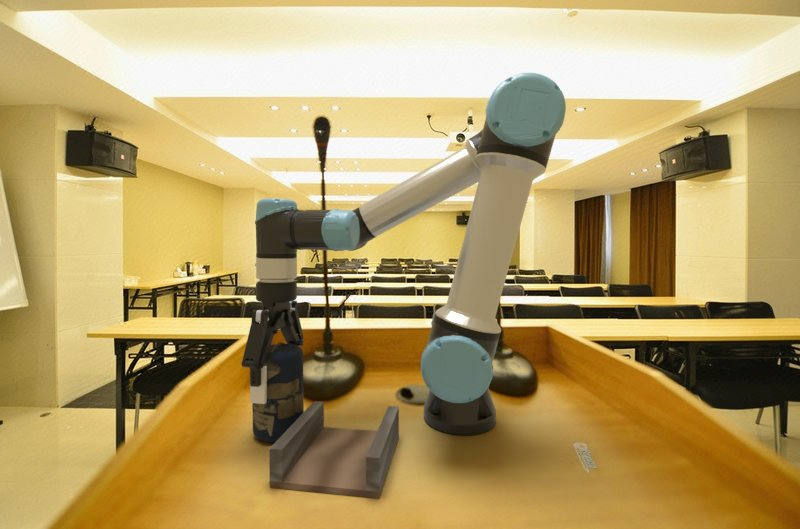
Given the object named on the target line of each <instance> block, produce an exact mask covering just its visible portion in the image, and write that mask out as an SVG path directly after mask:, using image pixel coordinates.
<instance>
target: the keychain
mask: <svg viewBox="0 0 800 529" xmlns="http://www.w3.org/2000/svg"><path fill="white" fill-rule="evenodd" d="M581 446H583V447H581ZM573 448H574V450H575V452H576V455H577V456H578V458H579V461H580V463H581V464H582V466H583V469H584V470H585V472H587V473H588V474H590V469H591V470H592V469H595V470H596V469H598V468H597V465H595V461H594V460H593V458H592V456H591V453H592V452H591V449H590V450H589V449H588V444H586V443H583V442H575V443H573Z"/></svg>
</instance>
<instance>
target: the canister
mask: <svg viewBox="0 0 800 529" xmlns="http://www.w3.org/2000/svg"><path fill="white" fill-rule="evenodd" d="M301 347H302V346H301ZM301 347H300V346H297V345H293V344H287V343H286V342H281V341H280V342H277V343H275V344H271V345H270V348H269V351H268V354H267V357H266V360H265V363H264V366H267V402H266V403H265V404H259V403H251V407H252V408H251V409H252V432H253V433H252V434H253V435H254V437H255V438H256V439H258V440H260V441H262V442H269V443H273V442H274V443H275V442H276V441H277V440H278V439H279V438H280V437H281V436H282V435H283V434H284V433H285V432H286V431H287V429H288V428H289V427H290V426H291V425H292V424H293V423H294V422H295V421H296V420H297V419H298V418H299V417H300V416H301V415H302V414H303V413H304V408H305V407H304V406H305V405H304V395H305V394H304V351H303V348H301Z"/></svg>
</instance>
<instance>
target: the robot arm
mask: <svg viewBox="0 0 800 529" xmlns="http://www.w3.org/2000/svg"><path fill="white" fill-rule="evenodd" d="M566 111H567V105H566V99H565V95H564V93H563V91H562V90H561V89H560V86H559V85H558V84H557V83H556V82H555V81H553V79H551V78H550V77H548V76H545V75H544V74H541V73H536V72H522V73H521V72H520V73H518V74H517V73H516V74H514V75H511V76H510V77H507V78H506V79H505V80H503V81H501V82H500V83H499V85H497V86H496V88H495V89H494V90H493V91H492V93H491V94H490V97H489V99H488V101H487V104H486V107H485V120H484V124H483V128H482V129H481V130H480V131H479V132H478V133H476V134H475V135H473V136H471V137H470V138H468V139H467V140H466V142H465V145H464V147H462V148H461V149H459V150H456V151H455V152H453V153H452V154H450V155H448V156H446V157H445V158H443V159H441V160H439V161H438V162H436V163H433V164H432V165H430V166H429V167H426V168H425V169H424V170H422V171H420V172H418V173H417V174H414V175H413V176H411V177H409V178H407V179H406V180H403V181H402V182H401V183H398V184H397V185H395V186H394V187H392V188H389V189H388V190H386V191H384V192H383V193H381V194H378V195H377V196H375V197H374V198H372V199H370V200H368V201H366V202H364V203H363V204H361V205H360V206H359V207H358V206H357V208H354V209H353V210H349V209H347V210H346V209H338V208H333V209H319V210H317V209H316V210H315V209H313V210H307V209H305V210H303V209H298V205H297V202H296V201H295V200H293V199H287V198H275V197H274V198H270V197H269V198H267V197H266V198H261V199H260V200H258V201H257V203H256V210H255V220H254V224H255V242H256V243H255V245H256V246H255V248H256V251H255V252H256V254H255V258H256V259H255V263H254V266H255V270H256V271H255V277H256V279H257V280H259V281H256V283H255V300H256V301H257V302H260V303H262V309H253V310H252V311H251V323H250V328H249V332H248V336H247V340H246V345H245V349H244V352H243V356H242V361H241V367H242V368H249V384H250V385H249V386H250V387H249V390H250V391H249V392H250V393H249V394H250V400H249V403H250V404H252V403H259V404H265V403H266V402H267V366H264V363H265V360H266V357H267V354H268V351H269V348H270V345H272V342H273V339H274V336H275V335H276V334H278V332H279V330H280V332H281V334H282V336H283V338H284V340H285V344H293V345H297V346H299V347H300V346H301V347H302V346H304V333H303V330H302V326H301V324H302V323H301V319H300V316H299V311H298V309H299V308H298V301H297V297H298V296H297V295H298V294H297V293H298V291H297V290H298V289H297V288H298V286H297V285H298V282H296V280H295V279H297V277H298V256H297V254H298V250H299V251H301V250H302V251H304V250H305V251H306V250H308V251H333V252H343V251H349V252H352V251H356V250H360V249H362V248H364V247H365V246H366V245H367V244H368V243H369V242H370V241H371V240H373V239H375V238H377V237H378V236H381V235H382V234H384V233H385V232H388V231H389V230H391V229H393V228H395V227H397V226H399V225H401V224H402V223H405V222H406V221H408V220H410V219H412V218H414V217H416V216H417V215H420V214H421V213H423V212H425V211H427V210H429V209H431V208H432V207H435V206H436V205H438V204H440V203H442V202H444V201H445V200H448V199H449V198H451V197H453V196H455V195H457V194H459V193H460V192H461V193H462V192H463V191H465V190H466V189H468V188H470V187H472V186H474V185H475V184H477V186H476V191H475V195H474V197H473V202H472V205H471V209H470V213H469V218H468V220H467V224H466V229H465V232H464V236H463V240H462V244H461V247H460V248H461V249H460V252H459V255H458V258H457V263H456V267H455V271H454V274H453V278H452V282H451V285H450V288H449V289H450V290H449V294H448V297H447V302H446V303H445V305H443V306H440V307H439V308H438V309H436V310H435V311H434V312H433V314H432V319H431V320H432V321H431V322H430V324H431V328H430V332H429V336H428V339H427V344H426V347H425V348H424V349H423V351H422V354H421V357H420V373H421V377H422V380H423V381H424V384H425V386H426V387H427V388H428V393H427V396H426V399H425V402H424V406H423V420H424V421H425V423H426V424H427V425H428V426H430V427H431V428H432V429H434V430H437V431H440V432H442V433H446V434H452V435H457V436H458V435H459V436H472V435H479V434H484V433H485V432H488V431H491V430H492V429H493V428H494V427H495V426H496V423H497V410H496V407H495V404H494V400H493V397H492V395H491V391H490V389H489V387H490V384H491V382H492V380H493V378H494V366H493V362H494V358H495V355H496V352H497V348H498V345H499V344H498V343H499V338H500V335H501V332H502V328H501V327H500V325H499V323H498V321H497V318H496V315H497V312H498V308H499V305H500V301H501V298H502V295H503V290H504V286H505V282H506V279H507V277H508V276H507V275H508V271H509V268H510V266H511V260H512V257H513V254H514V250H515V246H516V244H517V239H518V236H519V233H520V229H521V224H522V221H523V217H524V214H525V210H526V206H527V203H528V199H529V196H530V194H531V193H530V192H531V188H532V185H533V182H534V180H535V179H537V178H538V177H540V176H542V175H543V174H545V172H546V169H547V166H548V162H549V159H550V156H551V152H552V149H553V145H554V141H555V137H556V136H557V133H559V131H560V130H561V129H562V126H563V125H564V121H565V116H566Z"/></svg>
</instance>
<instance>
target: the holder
mask: <svg viewBox="0 0 800 529" xmlns="http://www.w3.org/2000/svg"><path fill="white" fill-rule="evenodd" d="M324 405H325V404H324V401H315V400H314V401H312V403H311V404H310V405H309V406H308V407H307V408H306V409H305V411H304V413H303V414H302V415H301V416H300V417H299V418H298V419H297V420H296V421H295V422H294V423H293V424H292V425H291V426H290V427H289V428H288V429H287V431H286V432H285V433H284V434H283V435H282V436H281V437H280V438H279V439H278V440H277V441H276V442H274V443H273V444H272V445H271V446H270V447H269V449H268V451H269V452H268V457H269V488H271V489H282V490H292V491H300V492H301V491H302V492H303V491H304V492H309V493H310V492H311V493H320V494H330V495H341V496H350V497H360V498H371V499H380V498H381V495H382V492H383V488H384V486H385V482H386V481H387V480H386V479H387V475H388V473H389V470H390V467H391V465H392V461H393V458H394V454H395V451H396V448H397V445H398V442H399V439H400V433H399V432H400V431H399V430H400V417H399V416H400V408H399V406H394V405H393V406H392V405H391V406H390V405H388V407H387V408H386V411H385V413H384V415H383V417H382V420H381V422H380V424H379V426H378V429H377V430H372V429H371V430H370V429H356V428H355V429H354V428H345V427H343V428H342V427H331V426H330V427H329V426H325V411H324V410H325V406H324Z"/></svg>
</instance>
